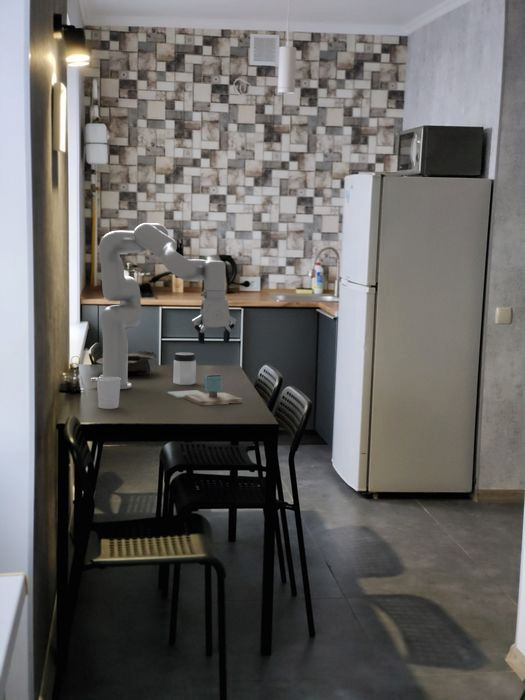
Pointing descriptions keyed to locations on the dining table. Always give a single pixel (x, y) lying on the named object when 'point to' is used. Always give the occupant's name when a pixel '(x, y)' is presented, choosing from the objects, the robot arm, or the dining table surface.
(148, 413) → the dining table surface
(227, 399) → the post base
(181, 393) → the mat
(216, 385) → the cap
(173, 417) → the dining table surface
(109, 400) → the white cup
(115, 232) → the robot arm
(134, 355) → the stone bowl
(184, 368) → the jar
